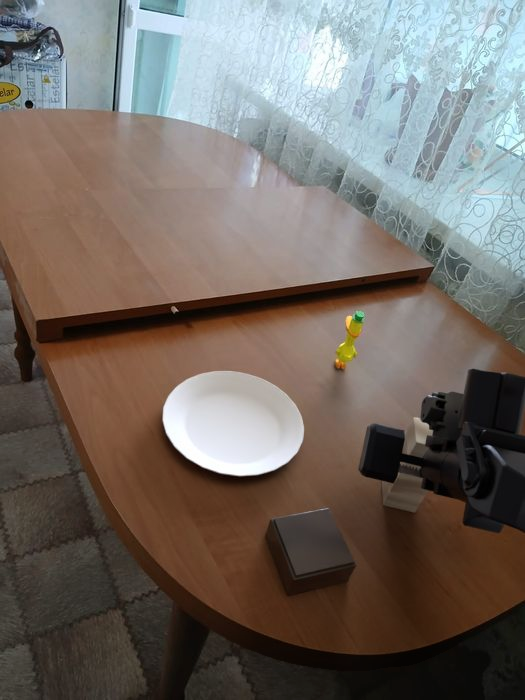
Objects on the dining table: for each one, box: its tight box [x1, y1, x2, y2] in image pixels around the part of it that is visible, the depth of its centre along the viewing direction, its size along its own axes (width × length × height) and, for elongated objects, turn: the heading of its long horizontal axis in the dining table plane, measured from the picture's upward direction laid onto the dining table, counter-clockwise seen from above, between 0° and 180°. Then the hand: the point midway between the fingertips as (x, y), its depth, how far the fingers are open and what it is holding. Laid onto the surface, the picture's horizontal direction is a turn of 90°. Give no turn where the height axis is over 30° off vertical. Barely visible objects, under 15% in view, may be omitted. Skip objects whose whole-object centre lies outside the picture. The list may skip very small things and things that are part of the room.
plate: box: [161, 370, 305, 477], centre depth 80 cm, size 21×21×2 cm
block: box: [381, 416, 433, 514], centre depth 73 cm, size 5×5×13 cm
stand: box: [264, 507, 357, 597], centre depth 65 cm, size 8×8×4 cm
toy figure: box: [334, 310, 366, 370], centre depth 94 cm, size 7×4×12 cm, turn 1°
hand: (419, 461), depth 71 cm, fingers open, 9 cm apart
